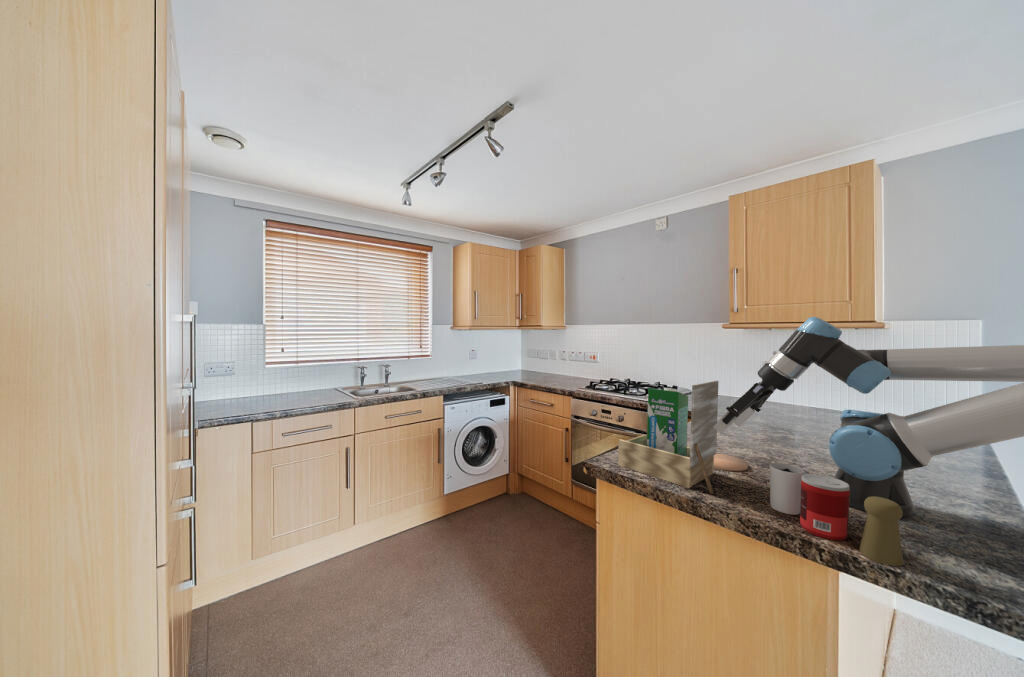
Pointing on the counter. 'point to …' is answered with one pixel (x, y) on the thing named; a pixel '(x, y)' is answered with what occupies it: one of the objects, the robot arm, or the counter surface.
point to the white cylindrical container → (785, 488)
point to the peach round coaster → (729, 463)
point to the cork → (882, 531)
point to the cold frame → (699, 452)
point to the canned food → (824, 506)
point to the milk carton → (667, 420)
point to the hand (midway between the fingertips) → (726, 426)
